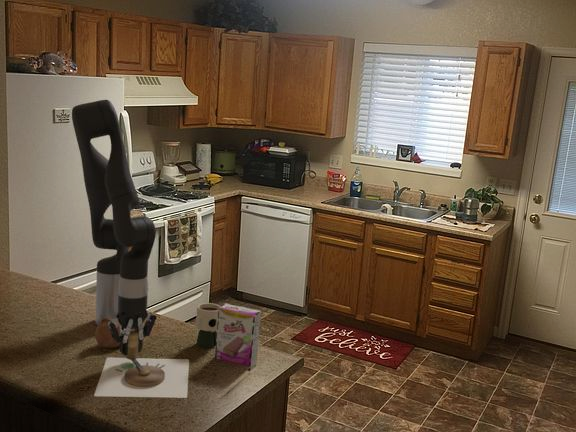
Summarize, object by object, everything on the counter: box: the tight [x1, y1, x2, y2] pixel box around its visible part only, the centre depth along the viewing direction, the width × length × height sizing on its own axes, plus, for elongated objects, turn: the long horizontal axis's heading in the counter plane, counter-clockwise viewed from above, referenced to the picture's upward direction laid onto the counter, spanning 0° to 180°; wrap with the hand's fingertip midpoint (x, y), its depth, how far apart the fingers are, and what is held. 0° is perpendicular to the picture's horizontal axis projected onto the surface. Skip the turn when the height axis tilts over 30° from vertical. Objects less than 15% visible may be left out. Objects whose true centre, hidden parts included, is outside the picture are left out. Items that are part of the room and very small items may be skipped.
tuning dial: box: [125, 329, 165, 387], centre depth 166 cm, size 17×10×8 cm, turn 32°
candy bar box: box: [214, 303, 262, 371], centre depth 179 cm, size 11×5×16 cm, turn 71°
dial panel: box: [93, 357, 190, 399], centre depth 165 cm, size 22×22×2 cm
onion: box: [94, 318, 121, 349], centre depth 183 cm, size 10×9×10 cm
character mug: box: [195, 302, 222, 349], centre depth 188 cm, size 11×7×13 cm, turn 147°
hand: (130, 352), depth 172 cm, fingers closed on tuning dial, 3 cm apart
